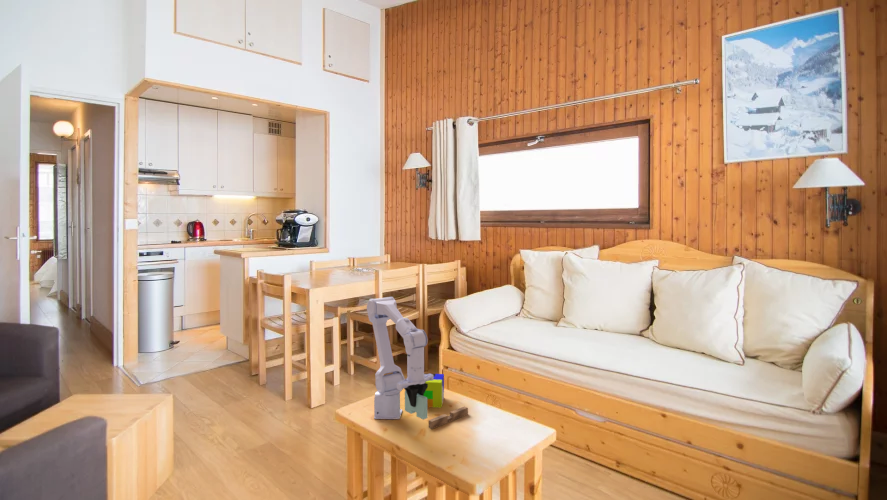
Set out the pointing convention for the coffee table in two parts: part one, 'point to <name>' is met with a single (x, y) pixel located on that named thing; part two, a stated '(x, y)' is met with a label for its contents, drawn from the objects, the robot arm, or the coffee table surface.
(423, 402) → the teal plate
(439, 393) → the puzzle toy
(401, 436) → the coffee table surface
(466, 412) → the walnut rail
